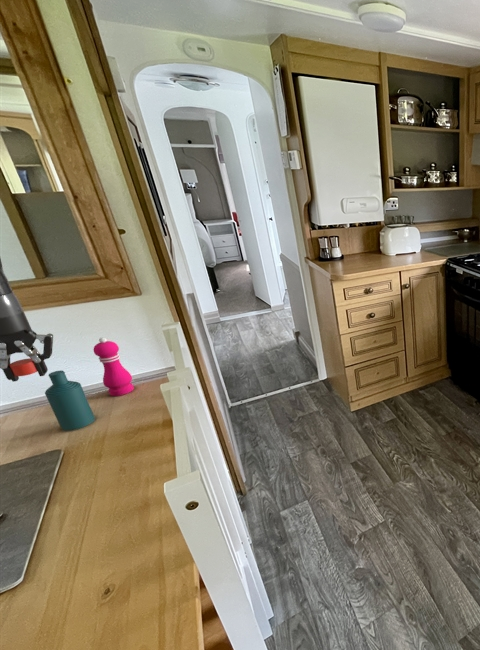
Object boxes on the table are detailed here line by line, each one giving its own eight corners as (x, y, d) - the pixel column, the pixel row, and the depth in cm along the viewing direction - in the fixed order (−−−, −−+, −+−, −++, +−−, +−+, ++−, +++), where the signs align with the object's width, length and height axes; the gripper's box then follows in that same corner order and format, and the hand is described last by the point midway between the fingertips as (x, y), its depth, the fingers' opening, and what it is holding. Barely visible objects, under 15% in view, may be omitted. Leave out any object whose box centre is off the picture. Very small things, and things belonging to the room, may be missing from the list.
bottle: (55, 433, 107) (31, 381, 101) (69, 419, 113) (46, 369, 107) (88, 427, 110) (66, 376, 103) (99, 414, 116) (79, 365, 110)
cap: (41, 367, 97) (36, 356, 96) (37, 373, 94) (33, 362, 93) (16, 371, 94) (11, 361, 93) (12, 378, 91) (7, 367, 90)
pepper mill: (118, 386, 132) (98, 333, 124) (140, 385, 132) (122, 333, 125) (102, 397, 125) (80, 342, 117) (125, 396, 126) (105, 341, 118)
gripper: (45, 304, 95) (71, 364, 101) (-42, 314, 87) (-9, 379, 93) (39, 311, 89) (66, 375, 96) (-56, 323, 81) (-19, 392, 88)
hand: (29, 377), depth 94 cm, fingers closed on cap, 4 cm apart
